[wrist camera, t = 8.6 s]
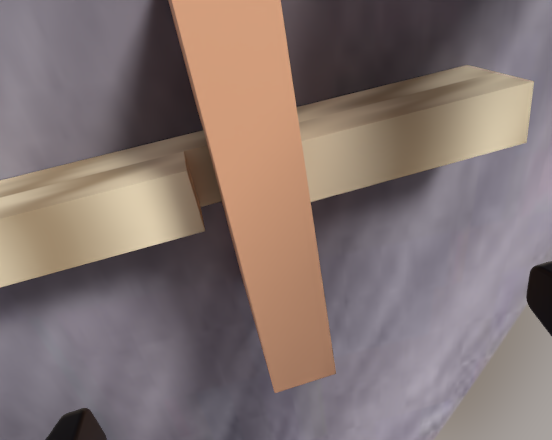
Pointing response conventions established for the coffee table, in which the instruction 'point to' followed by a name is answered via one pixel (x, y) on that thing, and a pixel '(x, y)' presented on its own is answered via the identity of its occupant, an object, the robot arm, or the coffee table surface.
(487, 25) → the coffee table surface
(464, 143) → the birch board
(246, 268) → the notched tan block
